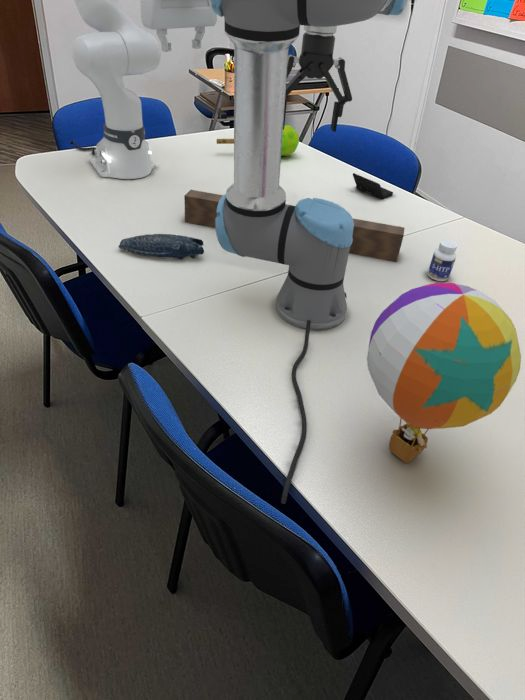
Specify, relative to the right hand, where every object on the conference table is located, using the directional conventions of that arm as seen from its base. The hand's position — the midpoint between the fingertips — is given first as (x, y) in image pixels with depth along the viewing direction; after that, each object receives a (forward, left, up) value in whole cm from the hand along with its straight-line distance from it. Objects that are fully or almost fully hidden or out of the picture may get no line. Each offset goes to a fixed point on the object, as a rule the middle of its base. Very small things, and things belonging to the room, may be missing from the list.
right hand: (307, 129), depth 133 cm
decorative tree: (+50, +19, -25) cm, 59 cm away
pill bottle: (-22, -38, -25) cm, 50 cm away
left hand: (-4, +32, +15) cm, 35 cm away
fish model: (-30, +30, -25) cm, 49 cm away
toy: (-82, -26, -25) cm, 90 cm away
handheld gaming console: (+28, -22, -25) cm, 43 cm away
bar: (-12, +1, -25) cm, 28 cm away
